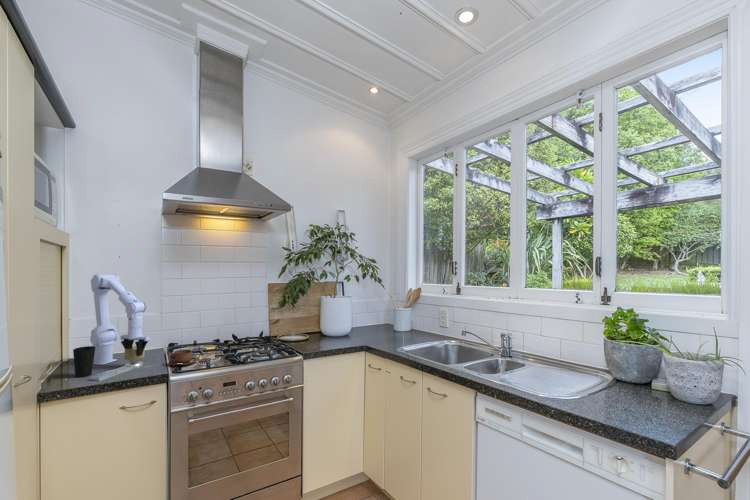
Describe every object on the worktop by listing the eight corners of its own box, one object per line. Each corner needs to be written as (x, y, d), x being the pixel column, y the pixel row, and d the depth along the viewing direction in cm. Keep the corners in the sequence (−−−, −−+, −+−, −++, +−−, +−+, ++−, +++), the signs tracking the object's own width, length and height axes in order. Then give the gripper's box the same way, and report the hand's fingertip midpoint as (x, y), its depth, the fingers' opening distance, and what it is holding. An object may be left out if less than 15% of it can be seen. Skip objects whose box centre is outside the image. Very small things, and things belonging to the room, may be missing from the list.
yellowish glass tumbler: (124, 359, 162) (124, 348, 163) (134, 356, 168) (134, 346, 168) (134, 360, 161) (134, 349, 162) (144, 357, 167) (144, 346, 167)
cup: (89, 377, 149) (90, 350, 150) (68, 379, 147) (69, 351, 147) (97, 372, 157) (98, 345, 157) (77, 373, 154) (78, 346, 155)
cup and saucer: (174, 369, 162) (174, 356, 162) (165, 364, 170) (165, 351, 170) (200, 364, 171) (200, 351, 171) (191, 359, 179) (191, 347, 179)
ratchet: (88, 380, 146) (88, 368, 147) (134, 364, 169) (134, 354, 169) (101, 381, 145) (102, 369, 145) (146, 365, 167) (146, 355, 167)
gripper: (154, 325, 168) (154, 353, 167) (129, 324, 170) (128, 352, 170) (142, 328, 161) (141, 357, 160) (116, 327, 163) (115, 355, 163)
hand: (134, 355), depth 165 cm, fingers closed on yellowish glass tumbler, 6 cm apart
